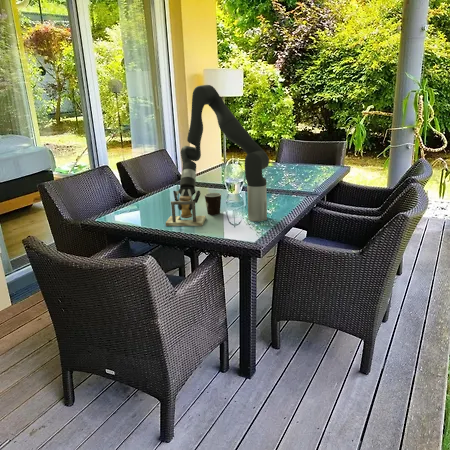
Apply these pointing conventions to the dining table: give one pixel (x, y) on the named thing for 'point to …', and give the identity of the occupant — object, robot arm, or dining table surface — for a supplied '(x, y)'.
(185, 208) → the wooden knob
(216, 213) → the coffee mug
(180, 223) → the u-shaped handle base
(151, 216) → the dining table surface
